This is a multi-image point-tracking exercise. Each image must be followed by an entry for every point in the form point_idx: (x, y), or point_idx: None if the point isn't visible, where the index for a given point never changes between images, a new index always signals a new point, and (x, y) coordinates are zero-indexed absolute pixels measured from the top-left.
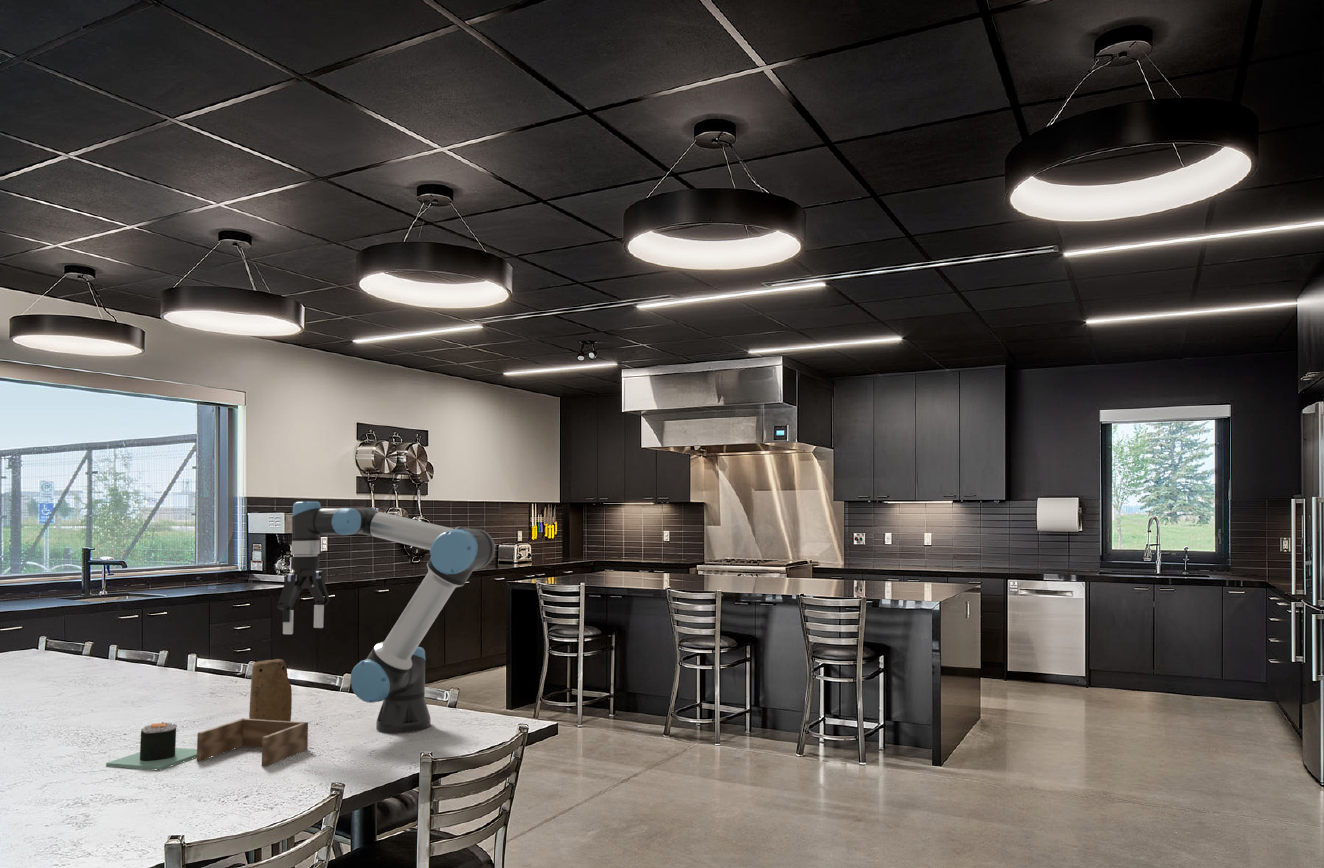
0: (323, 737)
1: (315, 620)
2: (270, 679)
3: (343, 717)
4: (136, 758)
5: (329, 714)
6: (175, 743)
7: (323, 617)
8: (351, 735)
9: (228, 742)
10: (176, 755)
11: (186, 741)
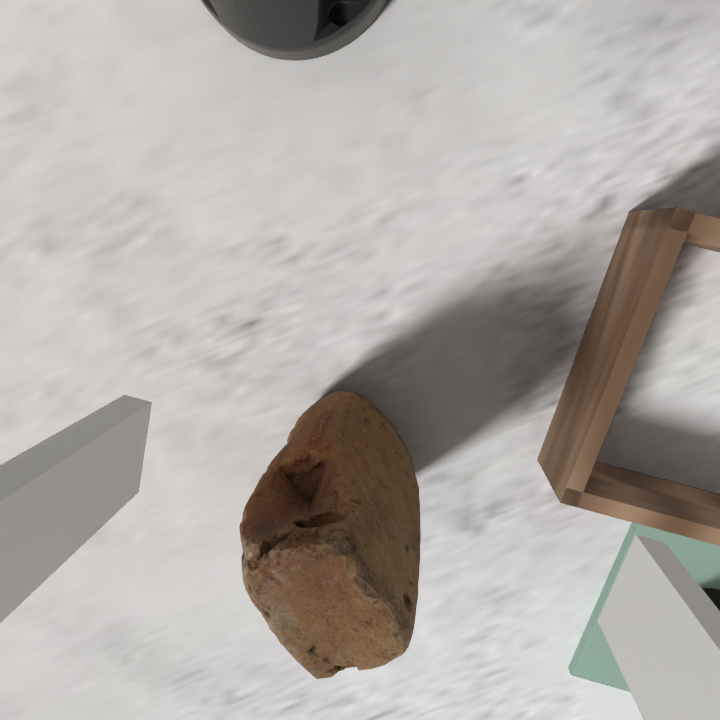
0: (448, 223)
1: (96, 514)
2: (387, 532)
3: (148, 266)
4: None
5: (109, 336)
6: None
7: (47, 439)
8: (423, 123)
9: (632, 481)
10: None
11: (474, 631)
